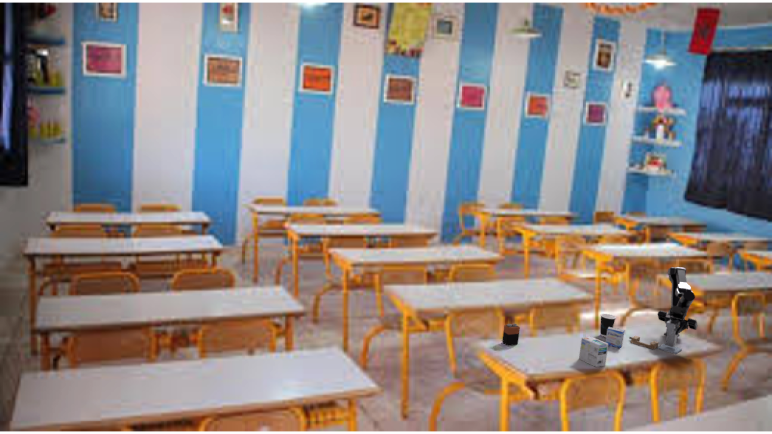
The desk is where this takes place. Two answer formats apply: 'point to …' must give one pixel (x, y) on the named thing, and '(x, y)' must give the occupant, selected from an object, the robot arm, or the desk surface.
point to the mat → (669, 349)
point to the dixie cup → (606, 323)
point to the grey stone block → (672, 332)
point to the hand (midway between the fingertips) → (671, 333)
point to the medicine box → (614, 337)
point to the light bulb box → (593, 351)
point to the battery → (511, 334)
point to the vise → (637, 341)
